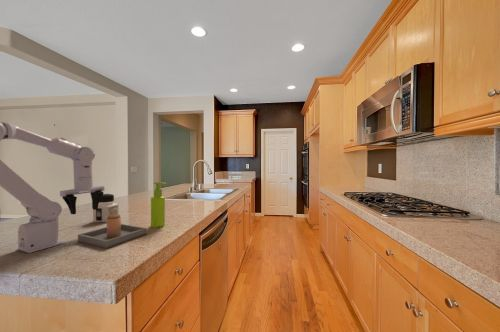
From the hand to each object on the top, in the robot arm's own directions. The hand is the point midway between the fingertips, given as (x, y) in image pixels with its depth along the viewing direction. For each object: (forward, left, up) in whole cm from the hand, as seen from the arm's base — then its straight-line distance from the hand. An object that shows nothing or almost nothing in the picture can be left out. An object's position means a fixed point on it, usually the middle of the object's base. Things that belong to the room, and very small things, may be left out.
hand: (84, 211), depth 85 cm
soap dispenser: (+22, -16, -10) cm, 29 cm away
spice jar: (+3, -13, -9) cm, 16 cm away
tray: (+3, -13, -9) cm, 17 cm away
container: (+18, +15, -10) cm, 25 cm away
